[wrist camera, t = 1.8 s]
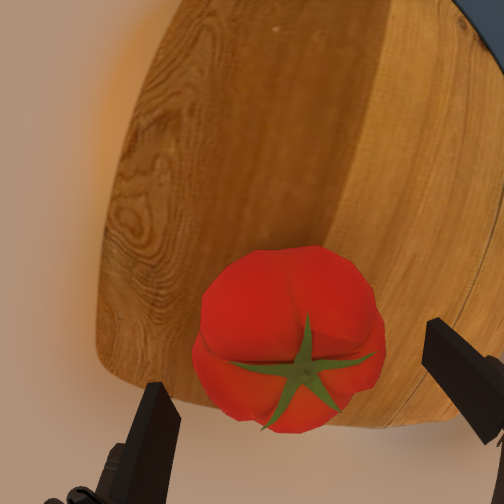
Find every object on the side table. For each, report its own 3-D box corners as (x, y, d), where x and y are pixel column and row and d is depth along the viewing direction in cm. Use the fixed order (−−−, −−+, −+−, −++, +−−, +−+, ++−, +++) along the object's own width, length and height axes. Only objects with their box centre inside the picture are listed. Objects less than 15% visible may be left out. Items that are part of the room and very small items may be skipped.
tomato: (300, 389, 21) (319, 463, 13) (173, 331, 19) (145, 408, 11) (387, 283, 18) (448, 338, 11) (256, 195, 16) (269, 215, 9)
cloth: (396, -54, 10) (397, -56, 9) (456, -60, 7) (457, -61, 7) (522, 113, 14) (525, 113, 14) (549, 66, 12) (551, 66, 12)
